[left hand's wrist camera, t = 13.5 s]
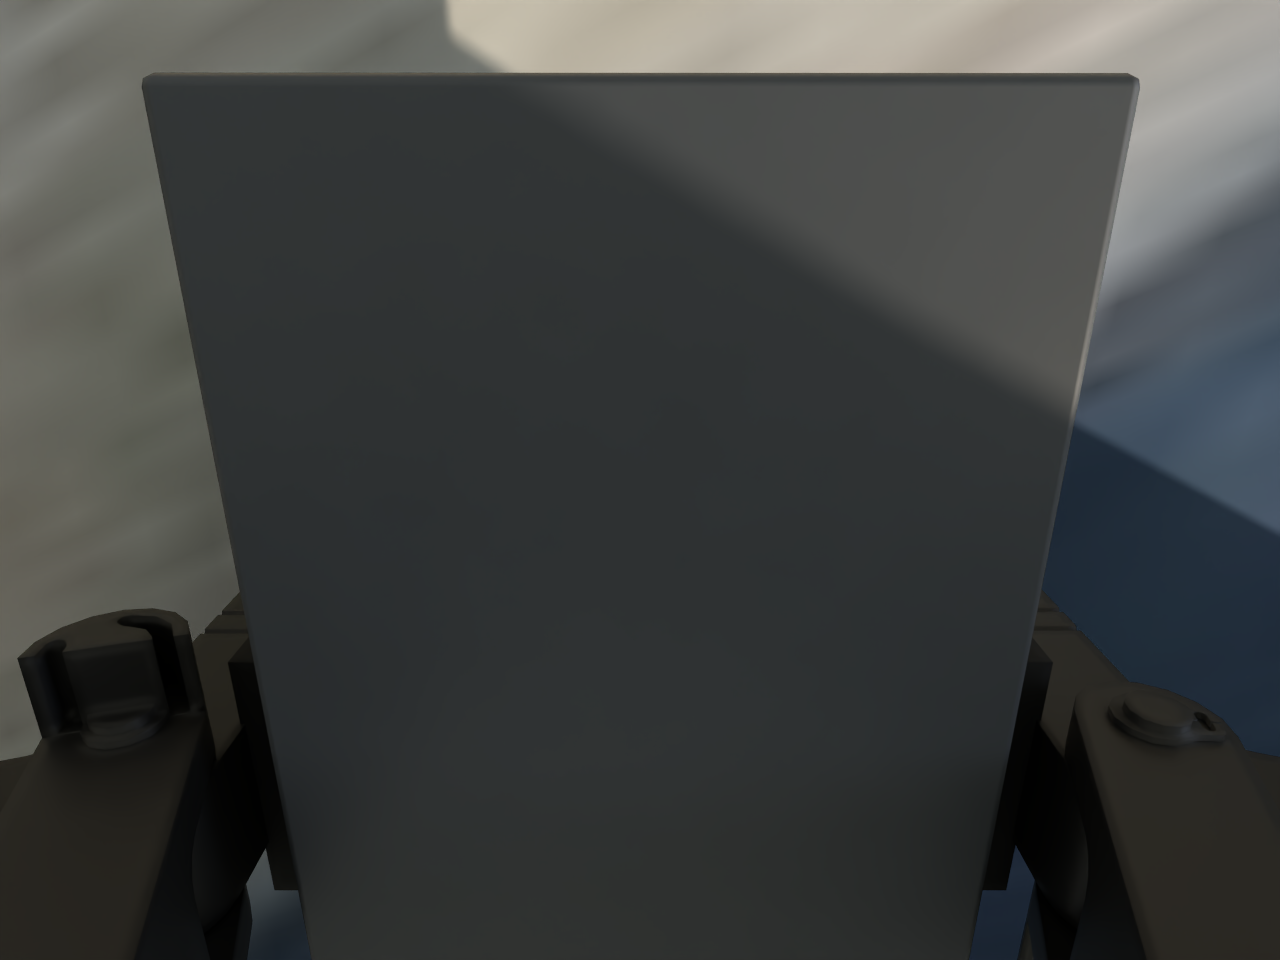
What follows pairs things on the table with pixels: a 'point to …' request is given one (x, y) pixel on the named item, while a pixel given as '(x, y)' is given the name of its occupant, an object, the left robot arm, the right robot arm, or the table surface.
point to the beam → (640, 485)
